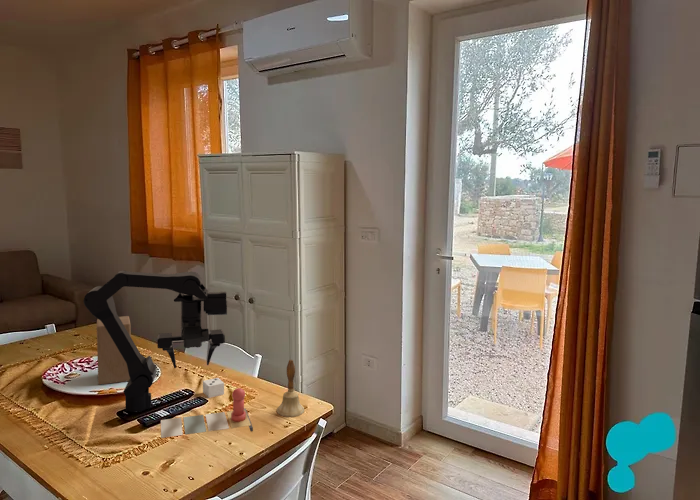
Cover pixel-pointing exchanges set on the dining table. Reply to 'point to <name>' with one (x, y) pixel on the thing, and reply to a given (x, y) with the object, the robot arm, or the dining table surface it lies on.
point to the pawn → (238, 405)
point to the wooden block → (111, 356)
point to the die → (213, 387)
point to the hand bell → (290, 396)
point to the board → (201, 424)
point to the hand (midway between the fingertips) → (191, 366)
